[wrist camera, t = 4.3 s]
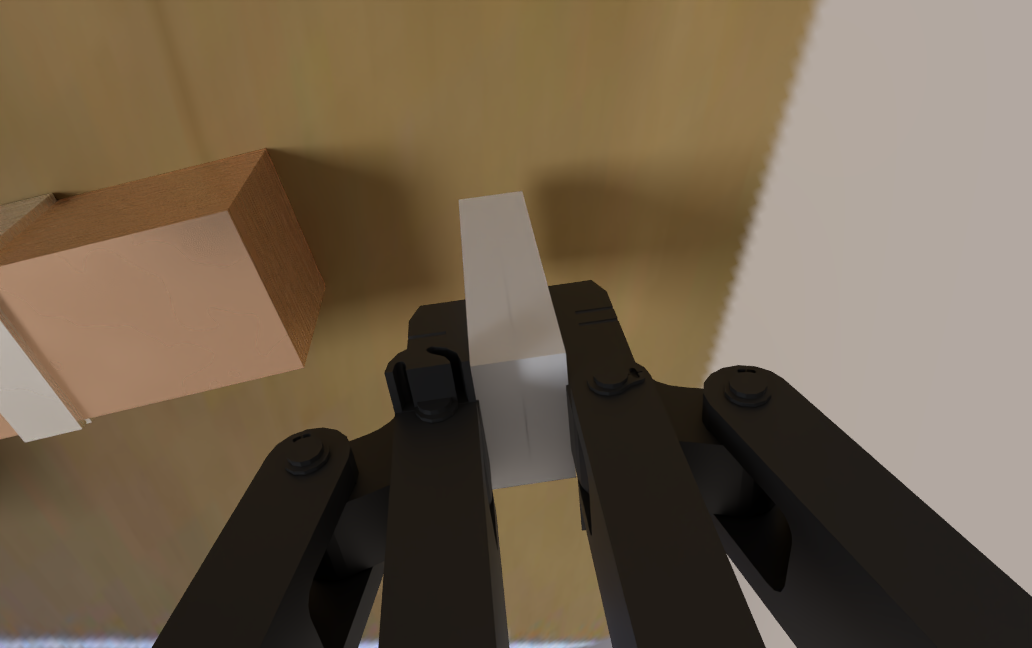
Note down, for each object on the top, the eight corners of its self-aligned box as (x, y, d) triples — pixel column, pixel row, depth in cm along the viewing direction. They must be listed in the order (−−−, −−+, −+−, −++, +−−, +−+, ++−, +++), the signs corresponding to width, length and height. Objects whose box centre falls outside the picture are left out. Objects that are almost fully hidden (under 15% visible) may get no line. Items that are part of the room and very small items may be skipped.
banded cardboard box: (-76, 385, 20) (-186, 496, 16) (-195, 250, 17) (-355, 346, 14) (329, 288, 19) (305, 381, 16) (264, 136, 17) (219, 204, 13)
